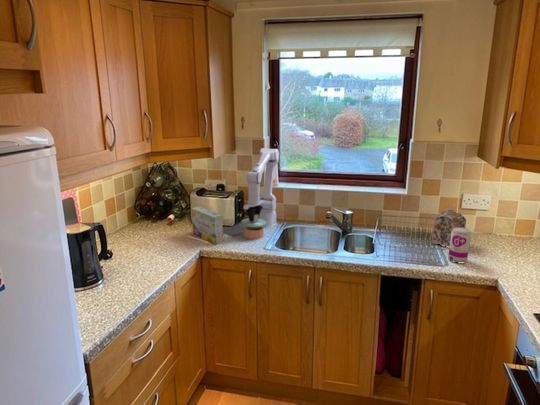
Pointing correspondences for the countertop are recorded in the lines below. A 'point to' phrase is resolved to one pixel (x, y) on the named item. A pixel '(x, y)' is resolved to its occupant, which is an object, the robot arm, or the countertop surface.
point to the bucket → (254, 232)
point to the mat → (233, 230)
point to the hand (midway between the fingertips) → (254, 219)
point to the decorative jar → (446, 226)
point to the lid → (253, 222)
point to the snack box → (207, 225)
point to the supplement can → (459, 245)
